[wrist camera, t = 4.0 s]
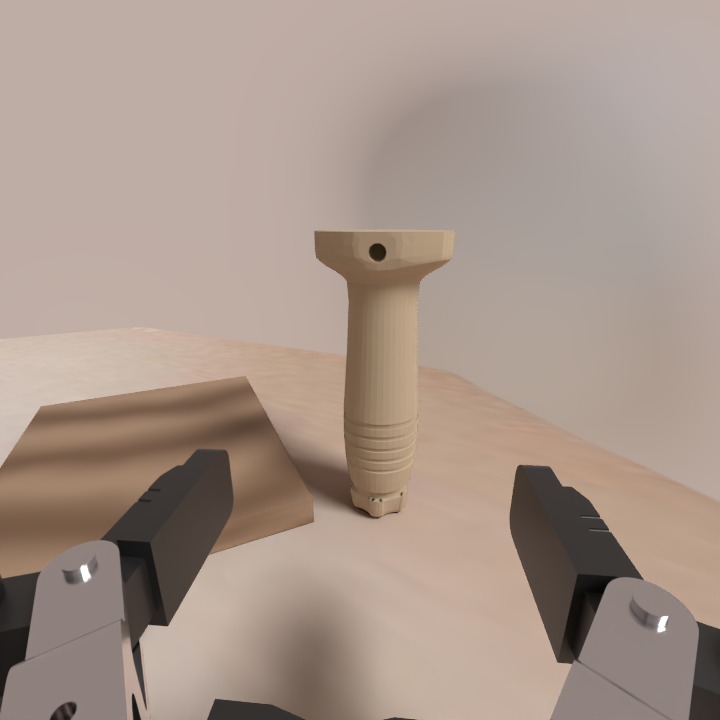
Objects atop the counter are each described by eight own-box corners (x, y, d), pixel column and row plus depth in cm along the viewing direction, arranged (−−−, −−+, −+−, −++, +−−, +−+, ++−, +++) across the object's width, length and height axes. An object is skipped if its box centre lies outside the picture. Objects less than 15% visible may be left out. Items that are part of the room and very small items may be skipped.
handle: (435, 538, 21) (458, 231, 16) (314, 523, 22) (301, 231, 17) (435, 482, 25) (452, 229, 20) (334, 472, 26) (328, 229, 21)
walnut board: (45, 423, 33) (40, 406, 32) (246, 390, 39) (245, 376, 39) (-84, 645, 15) (-98, 615, 15) (313, 521, 22) (312, 498, 21)
